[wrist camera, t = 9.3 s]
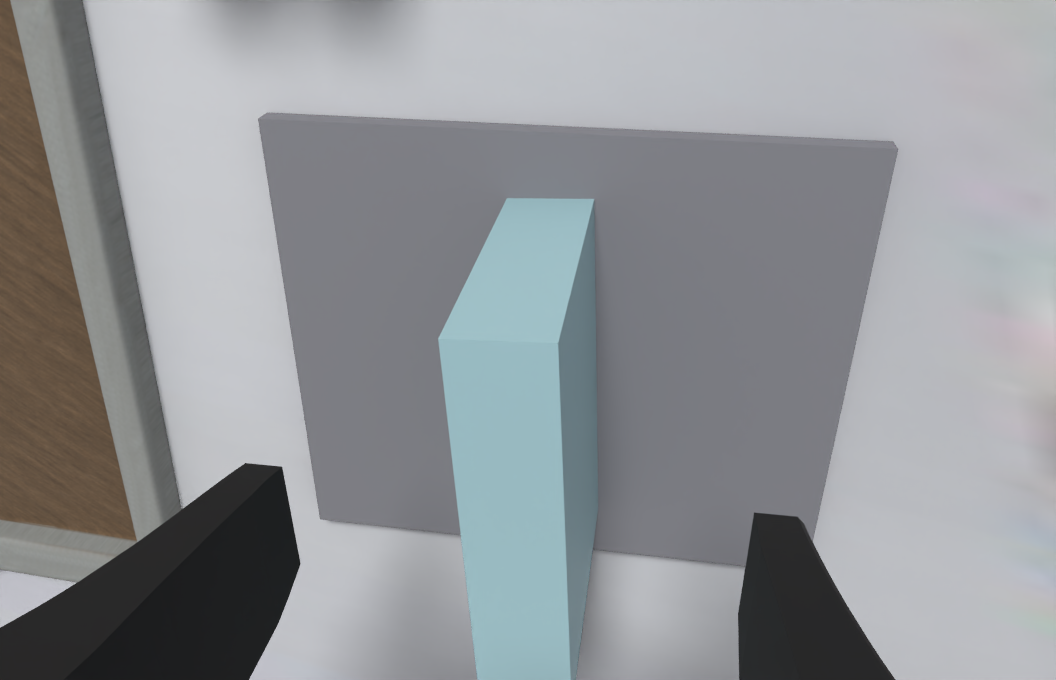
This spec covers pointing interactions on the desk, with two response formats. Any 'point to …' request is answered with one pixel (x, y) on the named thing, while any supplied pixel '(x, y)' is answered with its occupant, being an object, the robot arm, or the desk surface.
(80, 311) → the grey flat rectangular frame
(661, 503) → the mat
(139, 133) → the desk surface
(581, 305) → the pale teal block
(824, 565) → the robot arm
